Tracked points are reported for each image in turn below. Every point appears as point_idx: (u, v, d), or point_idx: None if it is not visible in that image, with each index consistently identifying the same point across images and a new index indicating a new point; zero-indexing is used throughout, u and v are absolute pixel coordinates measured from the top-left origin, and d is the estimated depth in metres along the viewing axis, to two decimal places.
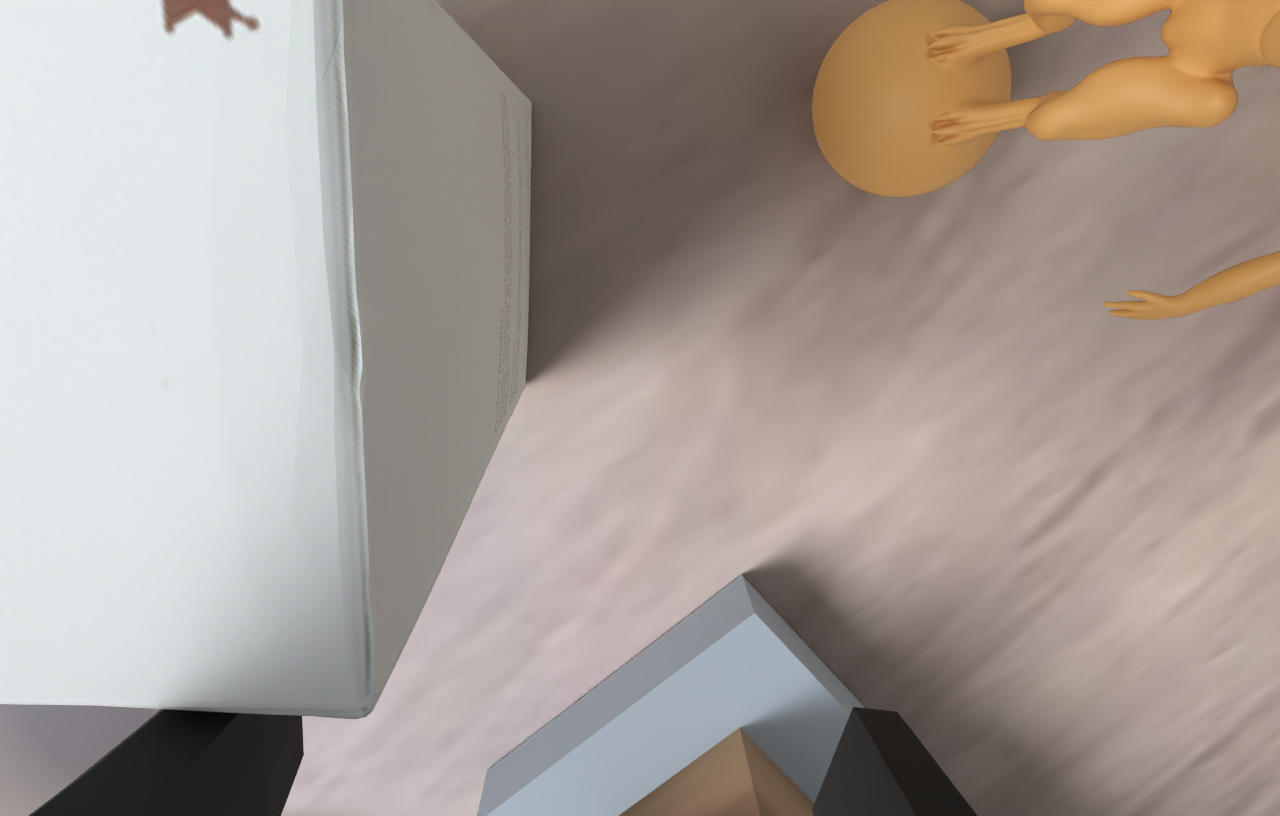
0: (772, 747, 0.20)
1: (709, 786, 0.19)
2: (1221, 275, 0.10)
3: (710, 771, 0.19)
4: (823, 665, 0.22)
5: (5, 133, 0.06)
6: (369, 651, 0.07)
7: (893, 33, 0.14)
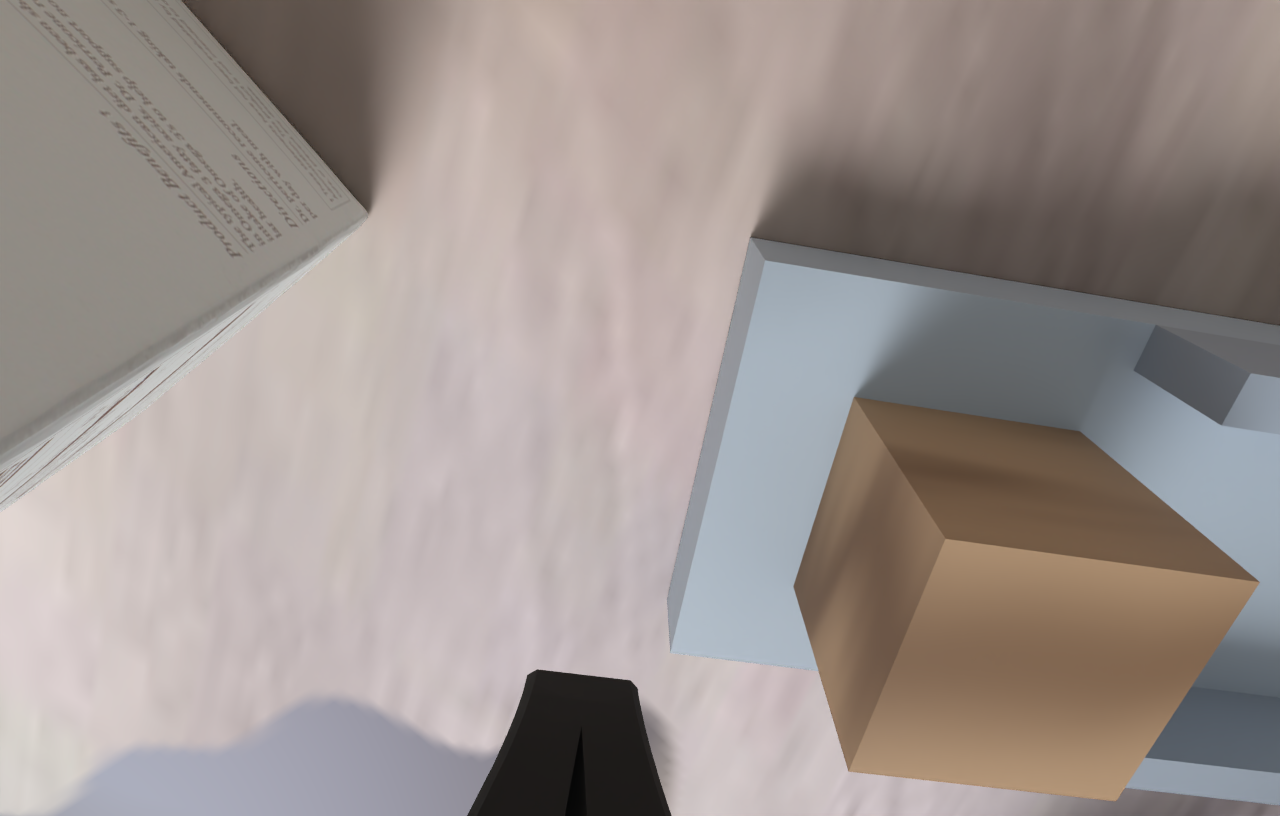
0: (909, 393, 0.15)
1: (851, 476, 0.15)
2: None
3: (848, 461, 0.15)
4: (923, 268, 0.16)
5: None
6: None
7: None
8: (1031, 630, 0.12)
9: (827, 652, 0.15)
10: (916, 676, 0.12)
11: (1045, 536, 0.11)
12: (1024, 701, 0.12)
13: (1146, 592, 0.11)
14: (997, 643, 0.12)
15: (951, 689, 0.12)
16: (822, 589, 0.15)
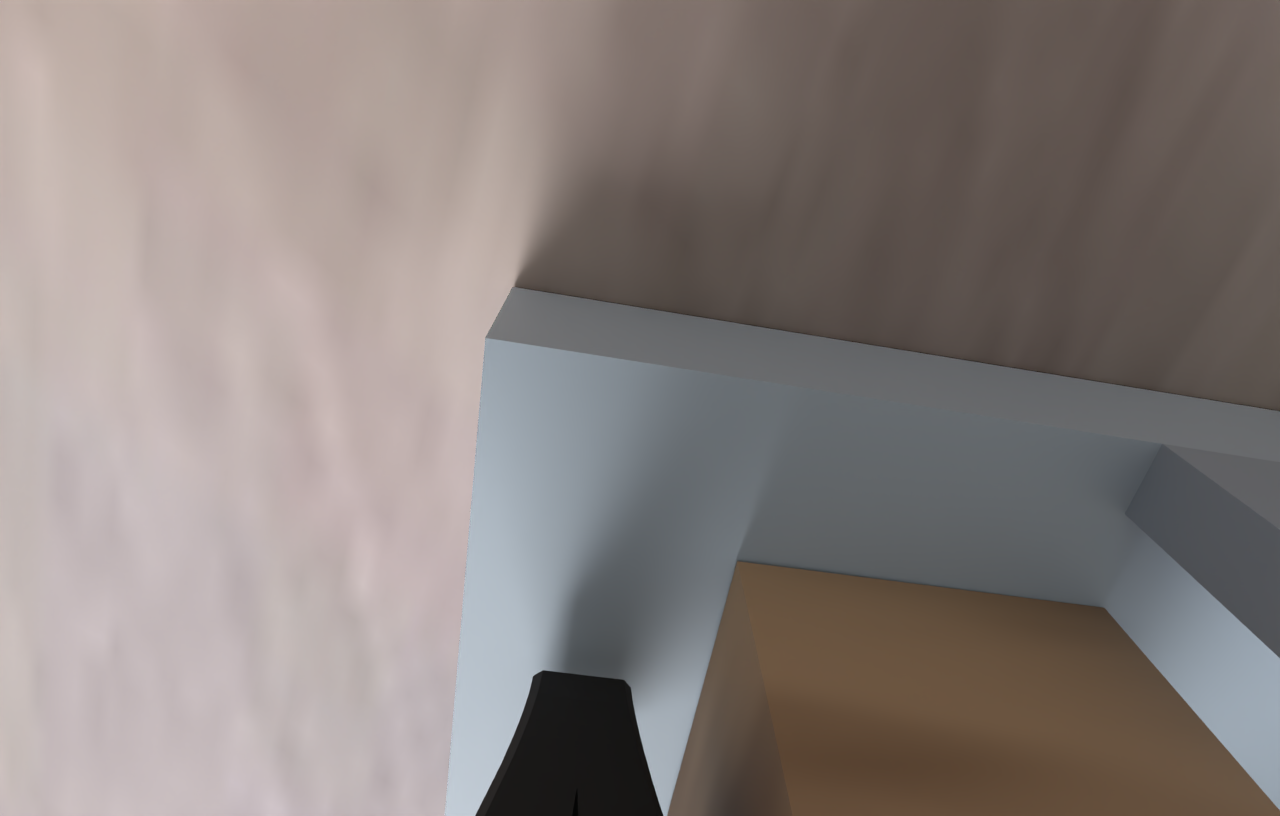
0: (757, 546, 0.09)
1: (727, 704, 0.09)
2: None
3: (726, 672, 0.09)
4: (791, 337, 0.10)
5: None
6: None
7: None
8: None
9: None
10: None
11: None
12: None
13: None
14: None
15: None
16: None
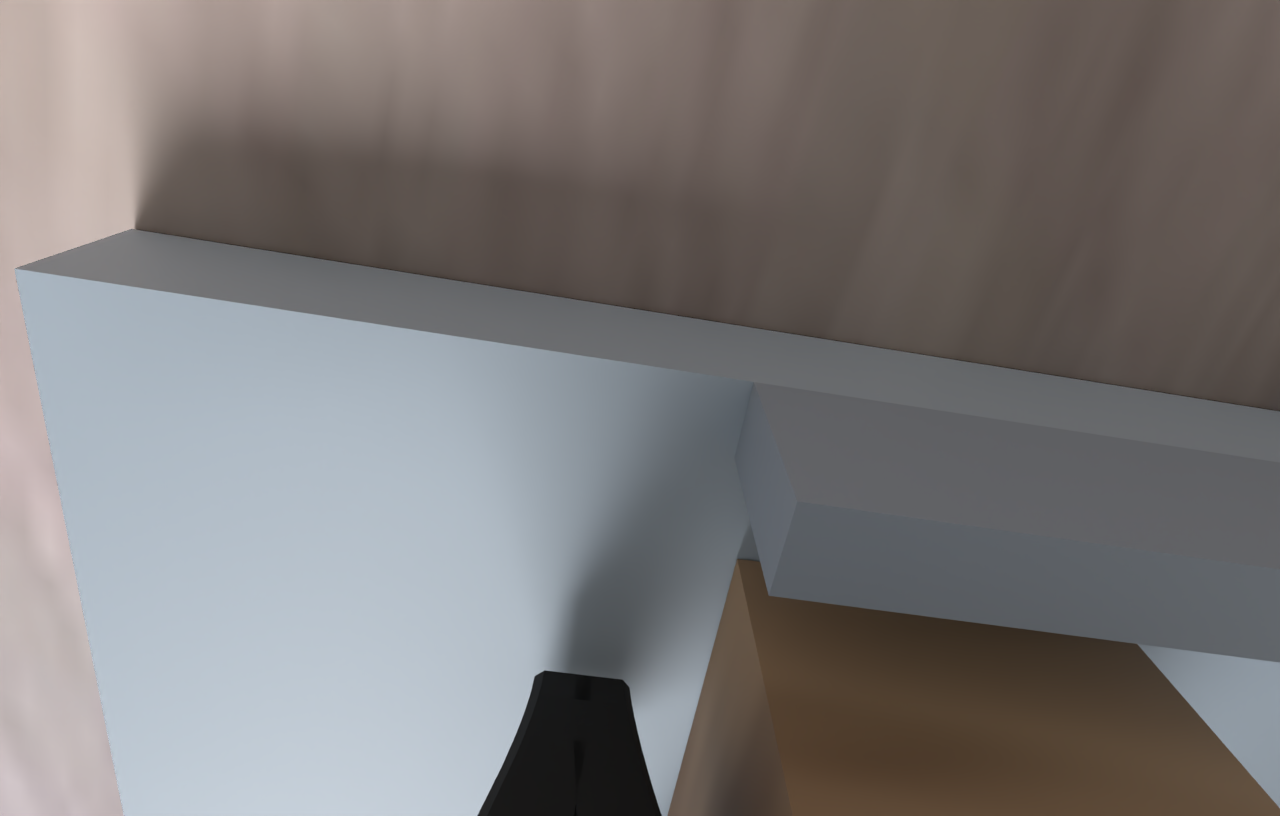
0: (361, 493, 0.09)
1: (727, 702, 0.09)
2: None
3: (725, 669, 0.09)
4: (424, 280, 0.10)
5: None
6: None
7: None
8: None
9: None
10: None
11: None
12: None
13: None
14: None
15: None
16: None
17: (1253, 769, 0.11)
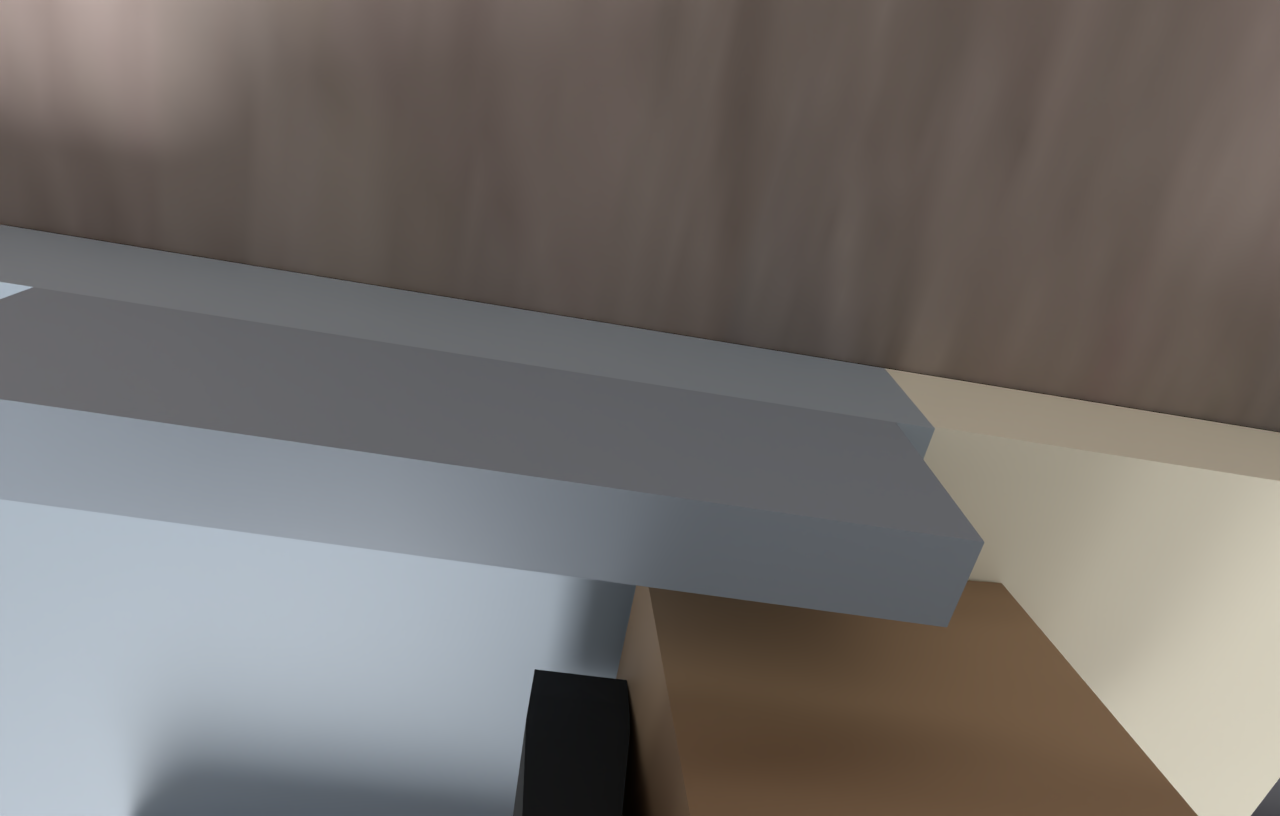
0: None
1: (635, 702, 0.09)
2: None
3: (633, 670, 0.09)
4: None
5: None
6: None
7: None
8: None
9: None
10: None
11: None
12: None
13: None
14: None
15: None
16: None
17: None
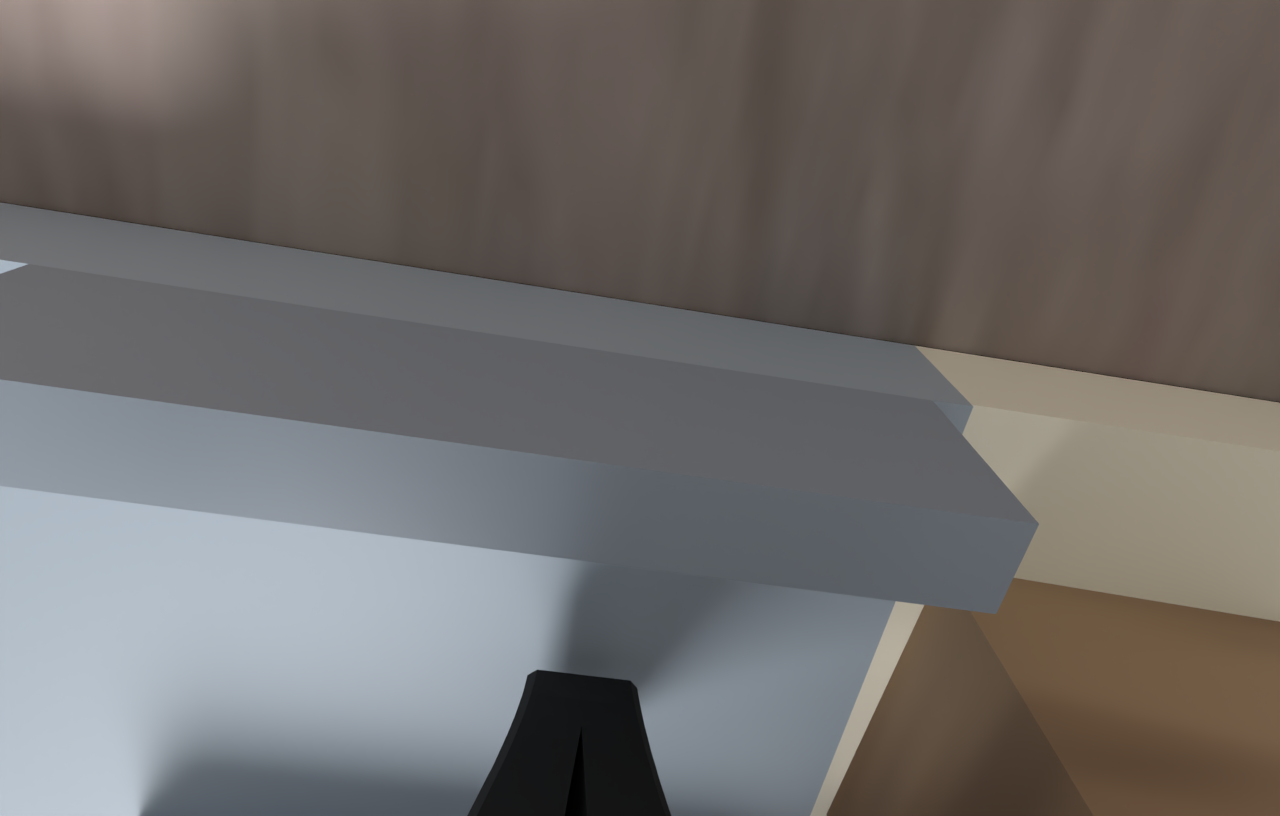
0: None
1: (941, 705, 0.09)
2: None
3: (932, 673, 0.09)
4: None
5: None
6: None
7: None
8: None
9: None
10: None
11: None
12: None
13: None
14: None
15: None
16: None
17: (748, 700, 0.11)
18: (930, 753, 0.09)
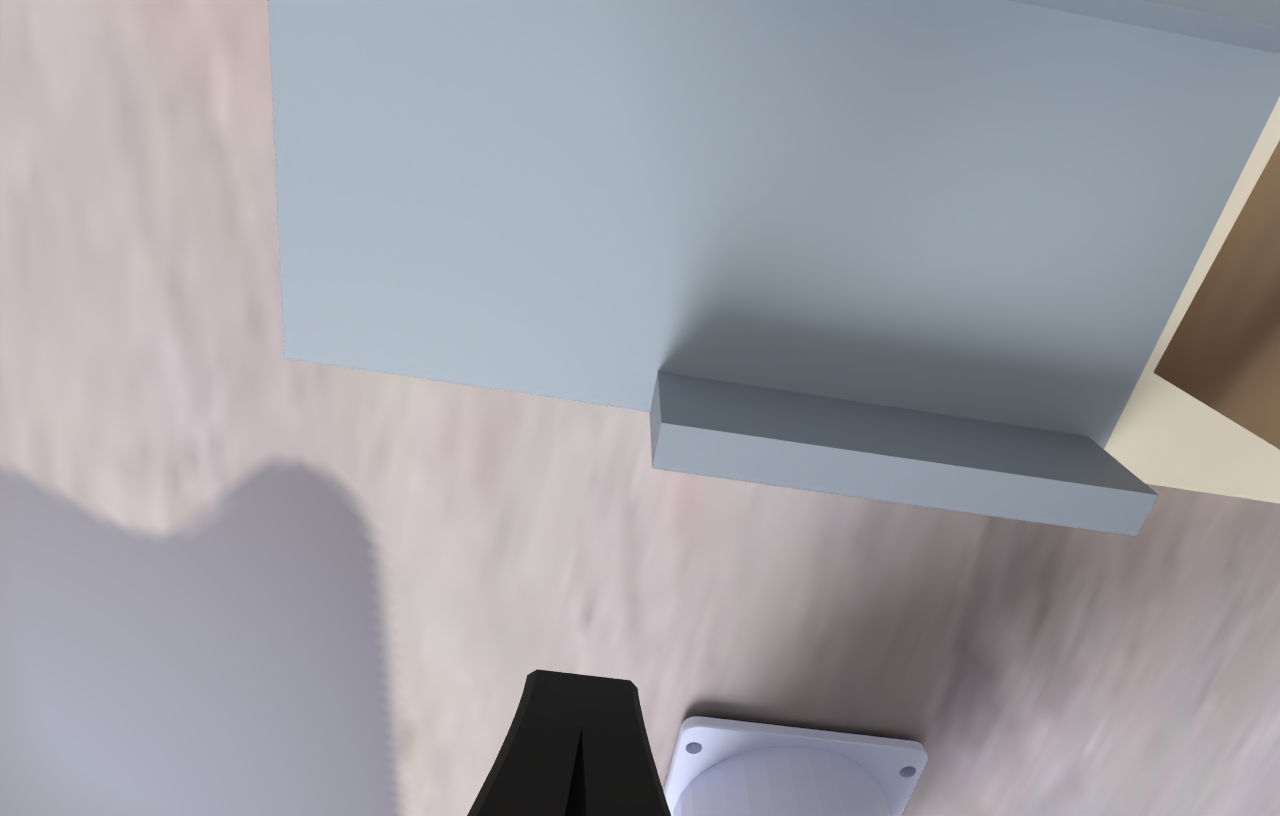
0: None
1: None
2: None
3: None
4: None
5: None
6: None
7: None
8: None
9: (1264, 401, 0.13)
10: None
11: None
12: None
13: None
14: None
15: None
16: (1233, 347, 0.14)
17: (1123, 258, 0.15)
18: None
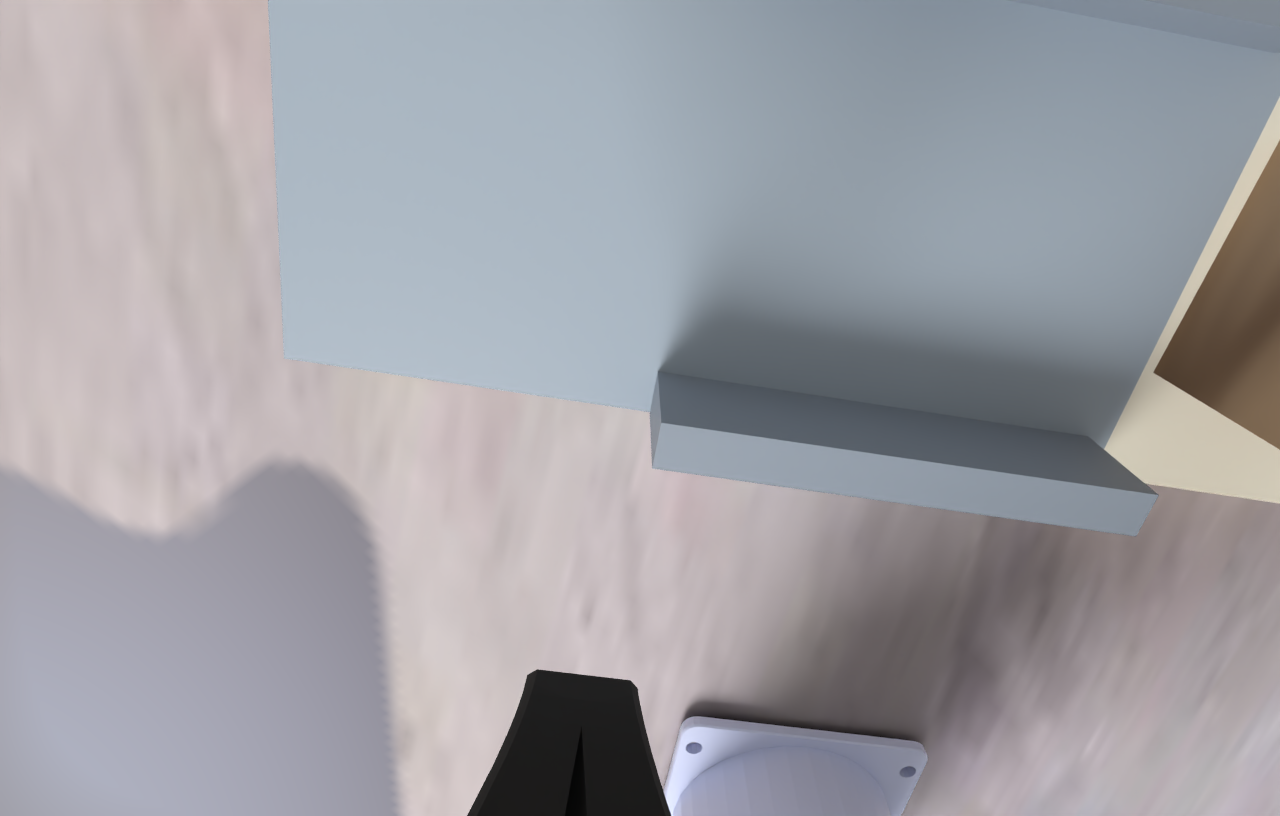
0: None
1: None
2: None
3: None
4: None
5: None
6: None
7: None
8: None
9: (1264, 401, 0.13)
10: None
11: None
12: None
13: None
14: None
15: None
16: (1233, 347, 0.14)
17: (1123, 258, 0.15)
18: None
